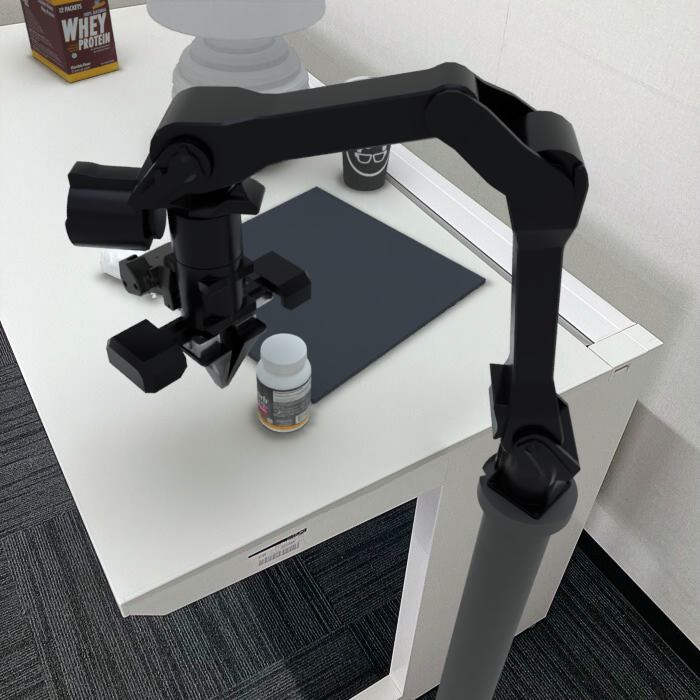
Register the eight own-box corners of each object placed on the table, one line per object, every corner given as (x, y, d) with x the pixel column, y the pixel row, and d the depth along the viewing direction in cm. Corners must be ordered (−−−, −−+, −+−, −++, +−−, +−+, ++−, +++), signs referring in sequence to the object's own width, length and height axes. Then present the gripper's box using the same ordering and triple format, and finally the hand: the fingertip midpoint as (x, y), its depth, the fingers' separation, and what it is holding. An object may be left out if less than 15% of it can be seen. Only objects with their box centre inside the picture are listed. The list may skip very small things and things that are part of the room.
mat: (485, 282, 106) (486, 278, 105) (314, 403, 88) (314, 400, 87) (316, 189, 121) (316, 186, 121) (142, 276, 104) (141, 273, 103)
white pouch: (179, 279, 104) (117, 245, 105) (171, 251, 98) (105, 216, 99) (157, 307, 102) (94, 272, 103) (148, 281, 96) (80, 244, 97)
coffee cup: (405, 175, 125) (414, 84, 115) (376, 202, 119) (382, 108, 109) (353, 158, 129) (357, 68, 119) (322, 183, 122) (323, 90, 112)
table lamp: (249, 212, 116) (233, -93, 89) (132, 155, 127) (86, -132, 100) (354, 149, 131) (367, -128, 104) (241, 103, 142) (226, -158, 115)
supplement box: (70, 83, 145) (51, -5, 134) (32, 56, 153) (12, -29, 143) (120, 70, 150) (107, -17, 140) (81, 44, 159) (65, -40, 148)
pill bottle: (253, 402, 88) (249, 334, 81) (303, 392, 89) (303, 325, 82) (264, 439, 84) (261, 372, 77) (317, 428, 85) (318, 361, 78)
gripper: (231, 172, 74) (241, 303, 84) (52, 253, 63) (88, 390, 74) (316, 220, 68) (315, 354, 79) (134, 317, 58) (161, 456, 68)
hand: (222, 384), depth 75 cm, fingers closed
